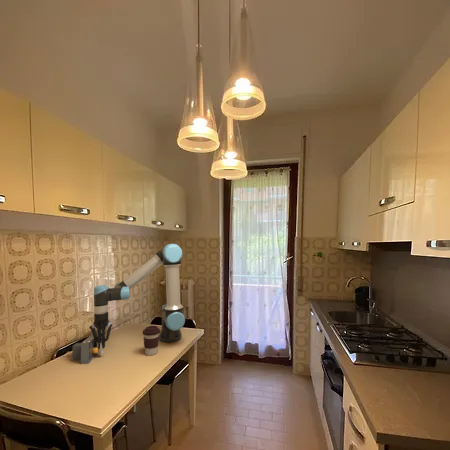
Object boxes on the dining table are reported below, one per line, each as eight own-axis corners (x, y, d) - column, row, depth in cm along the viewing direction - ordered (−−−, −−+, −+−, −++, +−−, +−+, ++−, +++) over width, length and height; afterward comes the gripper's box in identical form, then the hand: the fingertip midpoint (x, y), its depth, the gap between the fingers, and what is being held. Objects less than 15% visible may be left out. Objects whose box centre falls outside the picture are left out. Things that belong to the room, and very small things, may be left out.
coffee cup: (163, 351, 157) (163, 325, 158) (153, 357, 147) (153, 330, 149) (149, 349, 160) (149, 324, 161) (139, 355, 151) (139, 329, 152)
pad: (83, 351, 158) (83, 350, 158) (79, 355, 152) (79, 355, 152) (68, 352, 157) (68, 351, 157) (63, 356, 151) (63, 356, 151)
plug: (99, 355, 152) (99, 341, 152) (96, 359, 147) (97, 344, 148) (75, 357, 150) (76, 343, 150) (71, 361, 145) (72, 346, 145)
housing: (99, 351, 157) (99, 332, 158) (88, 363, 141) (88, 342, 142) (92, 352, 157) (92, 332, 157) (80, 364, 141) (81, 342, 142)
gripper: (114, 310, 156) (115, 350, 154) (92, 311, 154) (92, 352, 153) (110, 313, 148) (111, 355, 147) (87, 315, 147) (87, 357, 145)
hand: (101, 353), depth 150 cm, fingers closed
